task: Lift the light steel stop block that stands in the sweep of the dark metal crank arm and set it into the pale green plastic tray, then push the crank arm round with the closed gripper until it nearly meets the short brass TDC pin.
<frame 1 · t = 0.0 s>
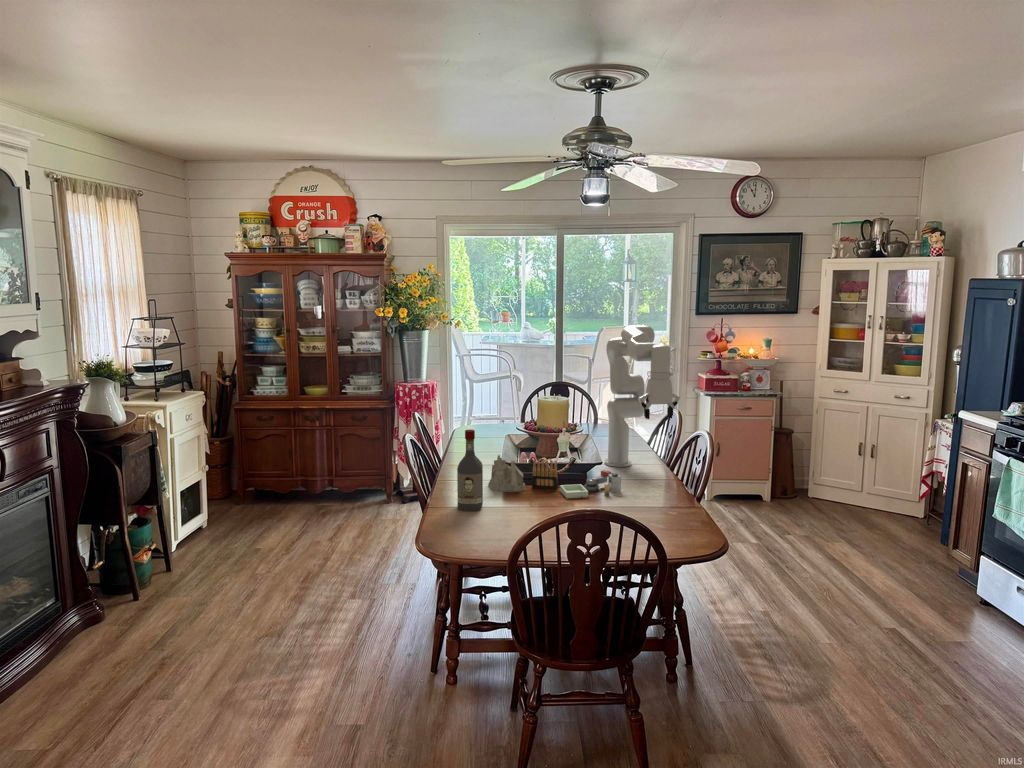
hand: (658, 418, 274), 31 cm above the table, fingers open, 9 cm apart
tray: (573, 494, 277), on the table
liquor: (470, 507, 260), on the table
crank: (597, 478, 284), point 4 cm above the table, hinge at 0.0°
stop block: (614, 490, 281), on the table
ammunition clip: (544, 488, 285), on the table
grey castle model: (507, 486, 287), on the table
crank pedestal: (591, 490, 282), on the table
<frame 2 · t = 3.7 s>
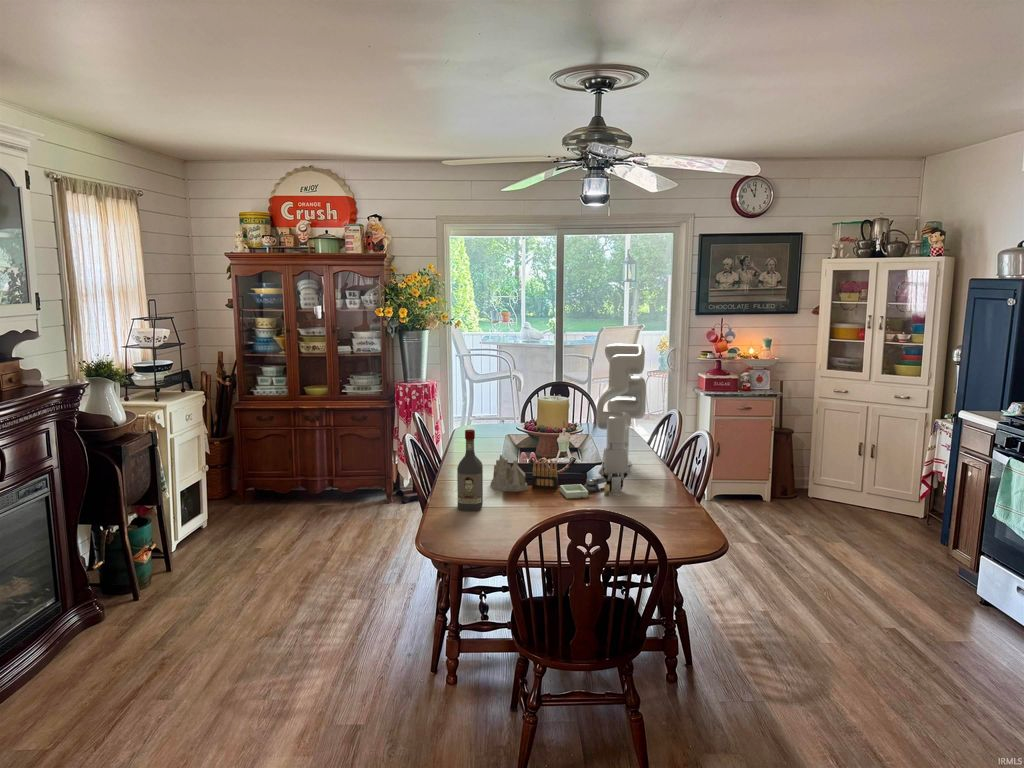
hand: (614, 488, 281), 1 cm above the table, fingers closed on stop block, 4 cm apart
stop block: (614, 490, 281), on the table, touching gripper
when the fingers open (3 cm above the table, at t = 9.1 s): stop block stays where it is, resting on tray.
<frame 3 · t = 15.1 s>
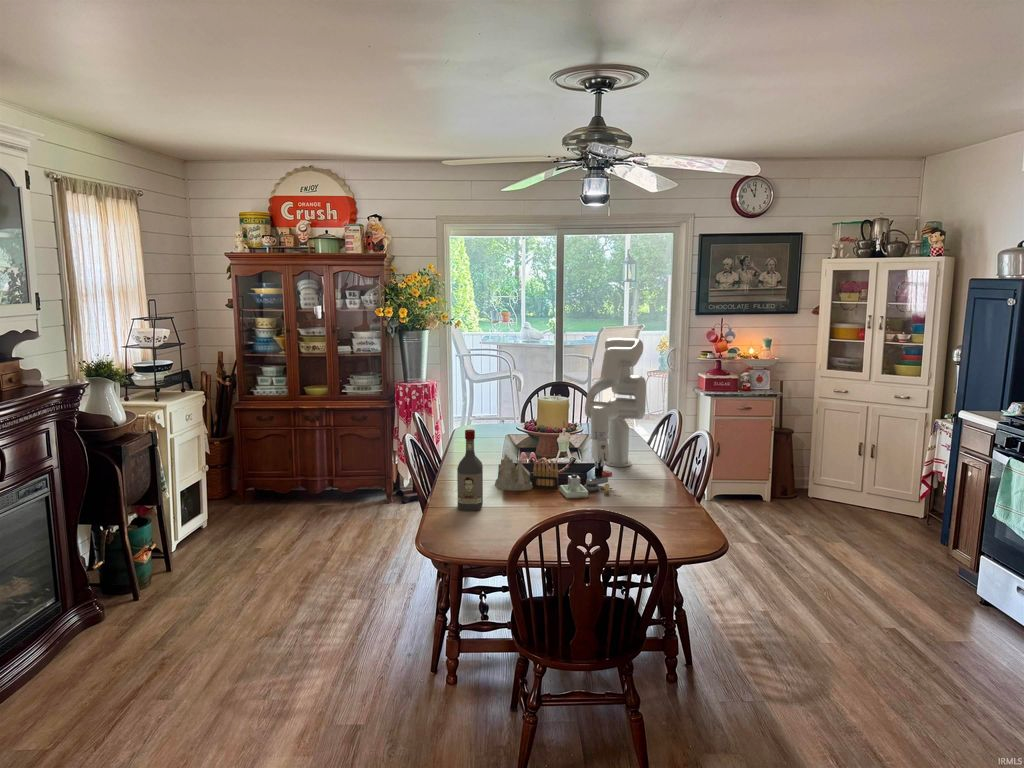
hand: (598, 476, 290), 3 cm above the table, fingers closed
crank: (598, 478, 283), point 4 cm above the table, hinge at -4.2°, touching gripper
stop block: (573, 492, 277), point 1 cm above the table, touching tray
grey castle model: (514, 485, 289), on the table
everything else where it was.
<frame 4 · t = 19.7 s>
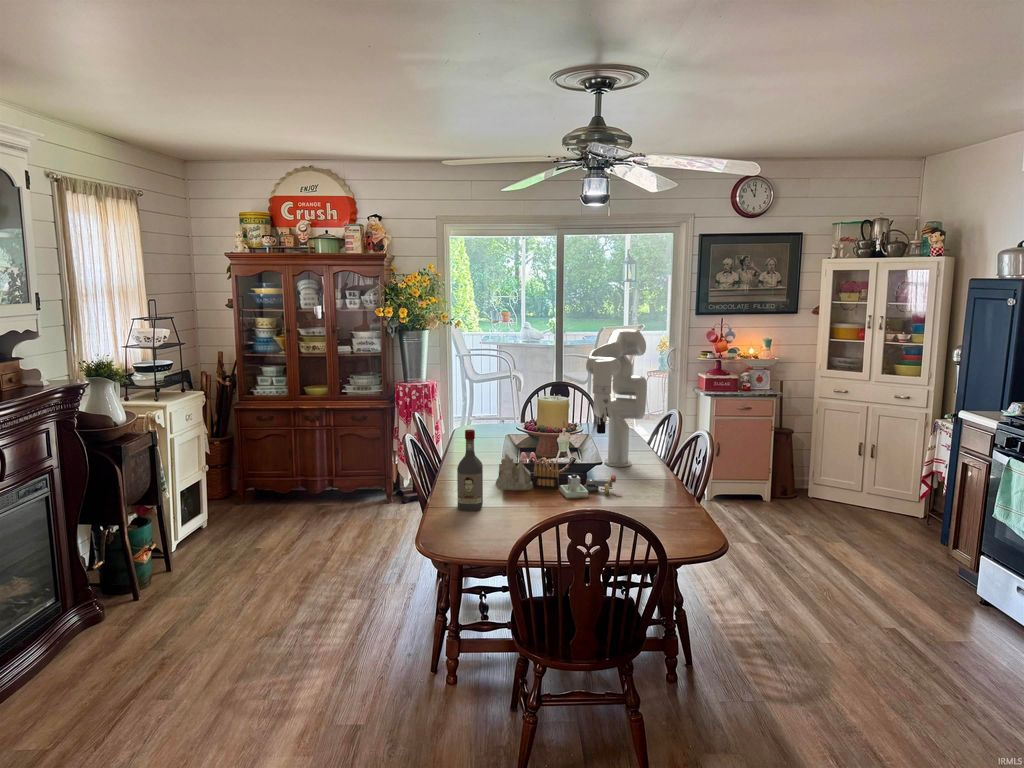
hand: (600, 433, 283), 23 cm above the table, fingers closed
crank: (601, 480, 280), point 4 cm above the table, hinge at -54.0°
at the end: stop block inside the target area on the tray (0.2 cm from its centre), point 0.6 cm above the tray's base; crank at -54° (first picture: +0°); the gripper is holding nothing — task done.
